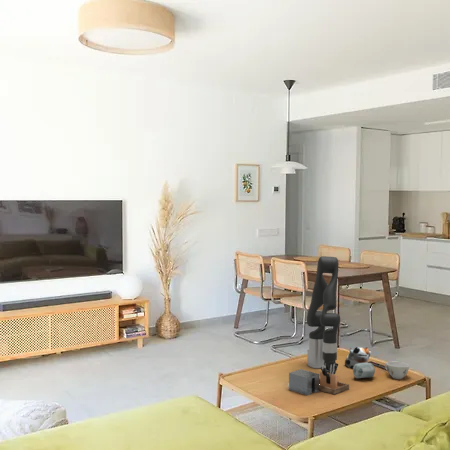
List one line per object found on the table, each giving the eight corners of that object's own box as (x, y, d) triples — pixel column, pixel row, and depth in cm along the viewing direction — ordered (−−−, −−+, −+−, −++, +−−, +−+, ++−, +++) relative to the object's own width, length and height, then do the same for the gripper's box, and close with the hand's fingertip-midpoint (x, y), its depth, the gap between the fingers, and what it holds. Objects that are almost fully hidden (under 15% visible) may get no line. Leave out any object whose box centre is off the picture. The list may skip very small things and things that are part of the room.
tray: (309, 387, 290) (309, 382, 290) (324, 382, 299) (324, 377, 299) (334, 395, 278) (334, 390, 278) (348, 389, 287) (349, 384, 287)
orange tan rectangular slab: (320, 385, 292) (319, 372, 292) (321, 384, 293) (321, 371, 293) (335, 389, 285) (335, 376, 285) (337, 388, 286) (337, 375, 286)
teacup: (413, 378, 307) (414, 364, 306) (399, 382, 300) (399, 368, 299) (391, 372, 319) (392, 358, 319) (377, 375, 312) (378, 361, 312)
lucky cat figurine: (365, 364, 334) (366, 342, 333) (373, 371, 322) (374, 348, 321) (342, 364, 332) (343, 342, 331) (349, 371, 320) (350, 348, 319)
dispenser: (288, 389, 286) (289, 372, 286) (300, 385, 293) (301, 369, 293) (307, 395, 277) (307, 378, 277) (319, 391, 284) (319, 374, 284)
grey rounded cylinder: (359, 379, 297) (364, 361, 299) (346, 374, 306) (352, 357, 307) (375, 384, 304) (380, 367, 305) (363, 379, 312) (368, 362, 314)
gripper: (331, 347, 295) (330, 379, 296) (316, 351, 286) (315, 384, 286) (343, 349, 290) (342, 382, 290) (328, 354, 281) (327, 387, 281)
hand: (329, 383), depth 288 cm, fingers closed on orange tan rectangular slab
